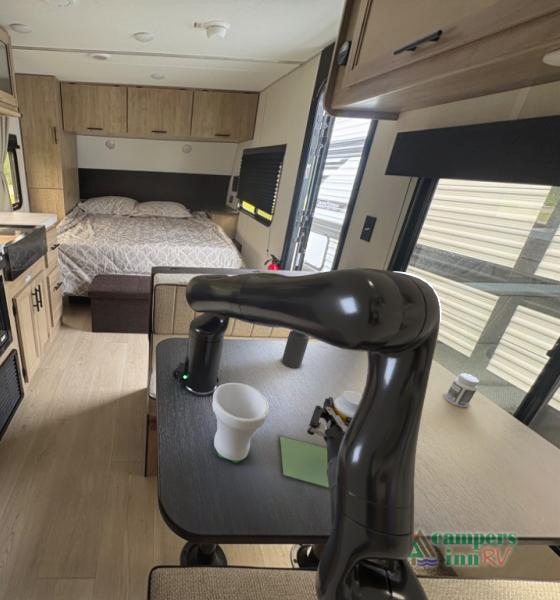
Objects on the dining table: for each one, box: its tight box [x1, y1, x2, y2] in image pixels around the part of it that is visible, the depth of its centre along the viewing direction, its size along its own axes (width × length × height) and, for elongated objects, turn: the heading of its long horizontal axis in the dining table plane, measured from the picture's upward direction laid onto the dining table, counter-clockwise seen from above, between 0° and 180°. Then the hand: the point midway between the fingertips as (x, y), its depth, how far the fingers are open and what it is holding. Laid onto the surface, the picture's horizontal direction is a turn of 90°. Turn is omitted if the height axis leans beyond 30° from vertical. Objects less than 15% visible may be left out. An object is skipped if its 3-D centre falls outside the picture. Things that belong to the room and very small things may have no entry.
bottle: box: [281, 330, 310, 369], centre depth 96 cm, size 6×6×15 cm
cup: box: [212, 382, 270, 464], centre depth 64 cm, size 11×11×14 cm
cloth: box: [279, 436, 329, 489], centre depth 64 cm, size 18×10×1 cm, turn 74°
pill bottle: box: [445, 372, 480, 408], centre depth 84 cm, size 5×5×8 cm
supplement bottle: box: [323, 390, 362, 430], centre depth 59 cm, size 6×6×10 cm
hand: (346, 406), depth 60 cm, fingers closed on supplement bottle, 5 cm apart
